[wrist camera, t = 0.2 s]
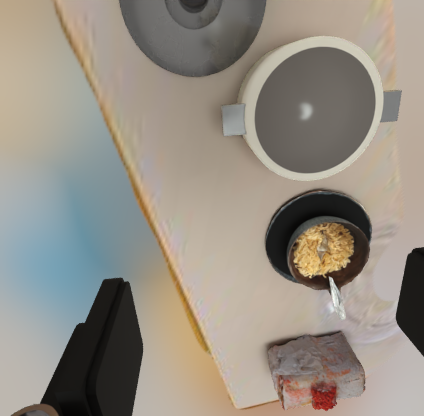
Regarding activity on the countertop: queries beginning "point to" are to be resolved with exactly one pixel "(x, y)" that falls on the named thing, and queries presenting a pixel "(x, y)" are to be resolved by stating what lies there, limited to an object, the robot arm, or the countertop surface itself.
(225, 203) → the countertop surface
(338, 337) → the food item
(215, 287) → the countertop surface
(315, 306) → the countertop surface
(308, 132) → the pot
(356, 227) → the soup bowl
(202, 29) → the lid
